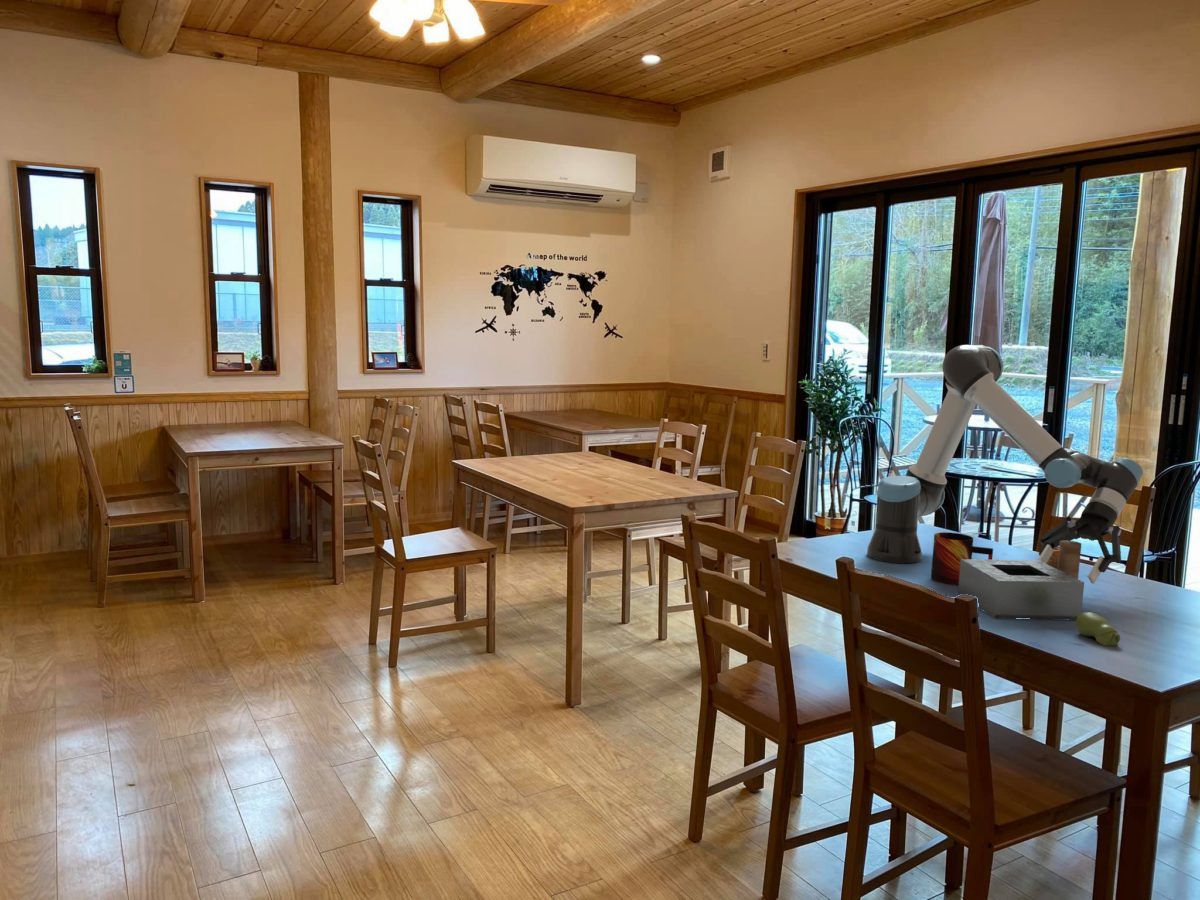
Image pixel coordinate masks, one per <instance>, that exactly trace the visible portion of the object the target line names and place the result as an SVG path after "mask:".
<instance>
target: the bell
mask: <svg viewBox="0 0 1200 900" xmlns="http://www.w3.org/2000/svg"><path fill="white" fill-rule="evenodd" d="M1053 551H1054V552H1053V553H1052V555H1051V556H1050V558H1049V560H1048V561H1047V563H1046V564H1047V565H1049V566H1051V567H1053V568H1056V569H1057V566H1058V555H1059V547H1058V546H1057V547H1055V548H1053ZM1035 560H1036V561H1037V560H1038V559H1035Z"/></svg>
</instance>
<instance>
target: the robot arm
mask: <svg viewBox="0 0 1200 900" xmlns="http://www.w3.org/2000/svg"><path fill="white" fill-rule="evenodd" d="M1003 372H1004V361H1003V359H1002V357H1001V355H1000V353H999V352H998V351H997V350H995V349H994V348H992V347H990V346H987V345H983V344H976V345H975V344H960V345H958V346H956V347H954V348H952V349H950V350H949V351H948V352H947V353H946V355H945V357H944V359H943V361H942V373H943V376H944V378H945V379H946V381H945V386H946V388H947V393H946V396H945V397H944V399H943V402H942V404H941V405H940V409H939V411H938V414H937V415H936V418H935V420H934V422H933V424H932V427H931V429H930V432H929V434H928V436H927V438H926V440H925V442H924V445H923V447H922V449H921V452H920V454H919V457H918V459H917V461H916V463H915V464H912V465H910V466H909V467H908V469H907V471H906V473H905V475H892V476H891V475H889V476H886V477H883V478H881V479H880V480H879V482H878V486H877V490H876V495H877V496H876V512H875V525H874V531H873V533H872V535H871V536H872V537H871V539H870V541H869V543H868V546H867V552H866V555H867V556H868V557H869V558H871V559H874V560H877V561H880V562H886V563H894V564H915V563H919V562H921V561H922V558H923V557H922V556H923V555H922V554H923V552H922V548H921V544H920V540H919V536H918V526H919V525H918V521H919V518H921V517H924V516H929V515H932V514H934V512H936V511H937V510H938V509H940V507H941V506H942V505H943V504H944V500H945V497H946V496H945V495H946V494H945V493H946V492H945V488H946V485H947V483H948V480H947V478H946V476H945V475H946V473H947V471H948V467H949V465H950V464H951V461H952V459H953V458H954V456H955V452H956V450H957V448H958V446H959V444H960V442H961V440H962V437H963V435H964V433H965V430H966V429H967V426H968V424H969V421H970V419H971V417H972V415H973V414H974V413H973V412H974V411H975V409H976V406H977V407H979V408H980V410H981V411H983V413H984V414H985V415H986V416H987V417H989V418H990V420H992V421H993V423H995V425H996V426H998V427H999V428H1000V430H1001V431H1003V433H1005V435H1007V436H1008V437H1009V439H1011V441H1012V442H1014V444H1016V445H1017V446H1018V447H1019V448H1020V450H1022V452H1024V453H1025V454H1026V455H1027V456H1028V457H1029V458H1030V459H1031V460H1032V462H1033V463H1034V464H1036V465H1037V466H1038V467H1039V468H1040V469H1041V470H1042V472H1043V473H1044V478H1045V479H1046V482H1048V484H1049V485H1051V486H1053V487H1055V488H1059V489H1060V488H1061V489H1065V488H1071V487H1073V486H1075V485H1078V484H1083V485H1086V486H1089V487H1091V488H1093V489H1095V491H1094V492H1093V494H1092V496H1091V497H1090V499H1089V501H1088V503H1086V505H1085V506H1084V509H1083V511H1082V512H1081V515H1080V516H1079V518H1078V519H1077V520H1075V519H1072V518H1071V516H1066V517H1065V518H1064V519H1063V520H1062V521H1061V522H1060V523H1059V524H1057V525H1056V526H1055V527H1053V528H1052V529H1050V530H1049V531H1047V532H1046V533H1044V534H1043V535H1042V536H1040V537H1039V538H1038V540H1039V543H1040V544H1041V546H1042V547H1041V549H1040V550H1039V551H1038V555H1039V556H1038V559H1036V560H1037V561H1041V562H1043V563H1045V564H1046V563H1047V561H1048V560H1049V558H1050V556H1051V555H1052V553H1053V552H1054V551H1053V548H1055V547H1057V548H1058V547H1059V545H1060V541H1064V540H1066V541H1073V540H1078V539H1083V540H1089V541H1092V542H1094V541H1097V542H1098V545H1099V547H1100V550H1101V552H1102V555H1103V556H1102V555H1099V557H1098V558H1097V560H1096V562H1095V563H1094V565H1093V566H1092V568H1091V570H1090V571H1089V574H1088V575H1087V578H1088V580H1089V582H1090V583H1091V584H1093V585H1094V584H1096V582H1097V580H1098V578H1099V577H1100V575H1101V574H1102V573H1103V574H1104V573H1105V572H1106V571H1107V570H1108V568H1109V566H1110V564H1112V563H1116V564H1119V563H1121V562H1122V554H1121V553H1122V551H1121V550H1122V549H1121V537H1122V536H1123V535H1122V534H1123V532H1122V530H1121V528H1120V526H1119V525H1115V522H1116V521H1117V520H1118V517H1119V516H1120V514H1121V512H1122V510H1124V507H1125V506H1126V504H1127V502H1128V501H1129V500H1130V498H1131V495H1133V493H1134V492H1135V490H1136V488H1137V487H1138V484H1139V482H1140V480H1141V478H1142V477H1143V474H1144V471H1143V468H1142V465H1140V463H1138V462H1137V461H1135V460H1133V459H1131V458H1128V457H1118V458H1115V459H1114V461H1112V462H1109V461H1105V460H1102V459H1099V458H1097V457H1094V456H1090V455H1088V454H1085V453H1082V452H1080V451H1079V450H1074V449H1070V448H1064V447H1063V445H1061V444H1060V443H1059V442H1058V441H1057V440H1056V439H1055V438H1054V437H1053V436H1052V435H1051V434H1050V433H1049V432H1048V430H1046V429H1045V428H1044V427H1043V426H1042V425H1041V424H1040V423H1039V422H1038V421H1037V420H1035V418H1034V417H1033V416H1032V415H1031V414H1029V412H1028V411H1026V410H1025V409H1024V408H1023V407H1022V406H1021V405H1020V404H1019V403H1018V402H1017V401H1016V400H1015V399H1014V398H1013V397H1012V396H1011V395H1010V394H1009V393H1008V392H1007V391H1006V390H1005V389H1003V388H1002V386H1001V385H1000V384H999V383H997V381H999V379H1000V378H1001V376H1002V374H1003ZM1076 532H1077V533H1076ZM1109 534H1110V535H1111V536H1110V537H1111V550H1112V554H1110V551H1109V549H1108V547H1107V544H1106V542H1105V541H1106V540H1105V539H1104V536H1107V535H1109Z"/></svg>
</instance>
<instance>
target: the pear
mask: <svg viewBox="0 0 1200 900" xmlns="http://www.w3.org/2000/svg"><path fill="white" fill-rule="evenodd" d="M1075 628H1076V630H1077V631H1078V633H1080V634H1081V635H1083V636H1085V637H1092V638H1095V641H1096V642H1097V643H1098V644H1100V645H1102V646H1105V647H1109V646H1111V647H1112V646H1118V645H1119V644H1118V643H1119V642H1120V640H1121V635H1120V634H1118V631H1117V630H1116V628H1115V627H1114V626H1111V625H1110V623H1109V622H1108V621H1107V620H1106V619H1105V618H1104V617H1103V616H1101V615H1099V614H1097V613H1096V612H1092V611H1086V612H1085V611H1084V612H1081V614H1080V615H1079V616H1078V617H1077V619H1076V620H1075Z"/></svg>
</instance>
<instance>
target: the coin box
mask: <svg viewBox="0 0 1200 900" xmlns="http://www.w3.org/2000/svg"><path fill="white" fill-rule="evenodd" d="M1036 560H1037V559H1034V560H1030V559H1029V560H1027V559H1025V560H1024V559H1023V560H1022V559H1021V560H1020V559H992V560H988V559H985V558H984V559H978V558H977V559H975V558H972V559H961V562H960V575H959V585H958V586H957V587H958V588H957V591H958V592H959V594H968V595H972V596H976V597H977V598H978V603H979V609H980V610H981V609H982V610H981V611H983V610H984V611H985V612H984V611H983V612H984V613H986V612H987V613H988V614H987V613H986V614H987V615H989V616H990V617H992V618H993V619H995V620H1017V619H1016V618H1030V619H1029V620H1031V619H1069V620H1068V621H1076V619H1077V617H1078V616H1079V615H1080V614H1082V610H1083V609H1082V608H1083V601H1084V600H1083V599H1084V590H1085V589H1084V588H1085V582H1084V581H1082V580H1081V579H1079V578H1078V579H1076V578H1074V577H1072V576H1070V575H1068V574H1066V573H1064V572H1062V571H1060V570H1058V569H1056V568H1053V567H1051V566H1049V565H1047V564H1045V563H1043V562H1041V561H1036ZM958 592H957V593H958ZM959 594H958V595H959Z"/></svg>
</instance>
